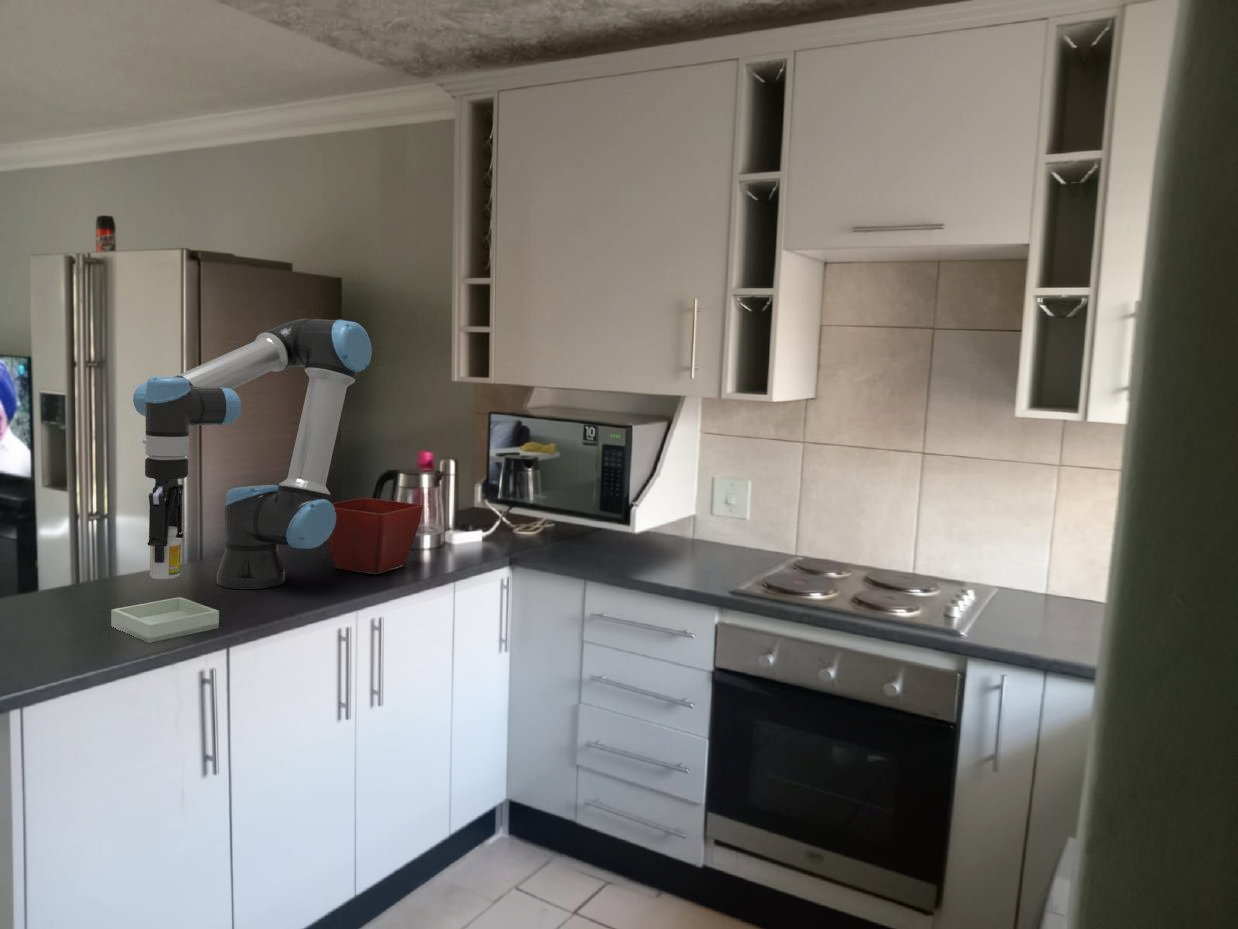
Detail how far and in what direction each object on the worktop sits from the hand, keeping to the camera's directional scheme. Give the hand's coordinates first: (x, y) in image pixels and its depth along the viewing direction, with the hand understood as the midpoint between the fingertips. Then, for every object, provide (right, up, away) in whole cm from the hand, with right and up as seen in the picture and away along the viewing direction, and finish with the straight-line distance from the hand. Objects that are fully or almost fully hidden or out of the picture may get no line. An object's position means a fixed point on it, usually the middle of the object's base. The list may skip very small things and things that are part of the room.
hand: (165, 574), depth 180 cm
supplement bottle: (0, -1, 0) cm, 1 cm away
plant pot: (+24, -6, +59) cm, 64 cm away
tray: (-1, -11, +1) cm, 11 cm away
